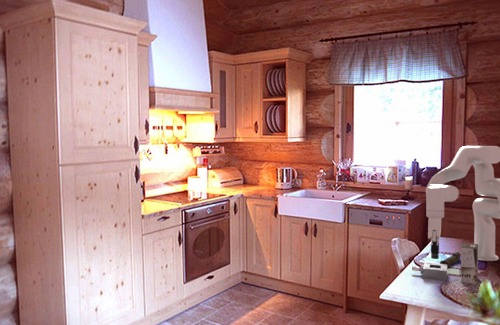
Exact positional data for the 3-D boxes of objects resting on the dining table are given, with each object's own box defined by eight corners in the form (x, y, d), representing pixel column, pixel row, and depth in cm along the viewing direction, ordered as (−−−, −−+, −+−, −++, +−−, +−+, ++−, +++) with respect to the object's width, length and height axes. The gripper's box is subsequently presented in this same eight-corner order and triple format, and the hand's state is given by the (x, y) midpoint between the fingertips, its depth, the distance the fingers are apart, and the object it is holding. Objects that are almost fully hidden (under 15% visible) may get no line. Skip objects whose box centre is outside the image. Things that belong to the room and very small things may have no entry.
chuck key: (438, 257, 196) (439, 238, 195) (438, 259, 193) (438, 240, 193) (431, 256, 198) (431, 237, 197) (430, 258, 195) (431, 239, 194)
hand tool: (447, 269, 207) (447, 260, 206) (439, 267, 210) (439, 258, 209) (465, 261, 218) (465, 252, 218) (457, 259, 222) (457, 251, 221)
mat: (441, 268, 208) (441, 267, 208) (459, 270, 204) (459, 269, 204) (440, 273, 201) (440, 272, 201) (459, 275, 197) (459, 274, 197)
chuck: (413, 271, 205) (413, 261, 205) (447, 274, 198) (447, 264, 198) (411, 277, 196) (411, 267, 196) (446, 281, 189) (446, 271, 189)
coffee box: (476, 285, 185) (477, 248, 184) (460, 282, 188) (460, 247, 187) (478, 278, 192) (478, 243, 191) (462, 276, 196) (462, 242, 195)
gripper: (427, 209, 203) (427, 247, 204) (425, 216, 188) (425, 256, 189) (444, 210, 200) (444, 249, 201) (443, 217, 185) (443, 258, 186)
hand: (435, 252), depth 195 cm, fingers closed on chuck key, 3 cm apart
